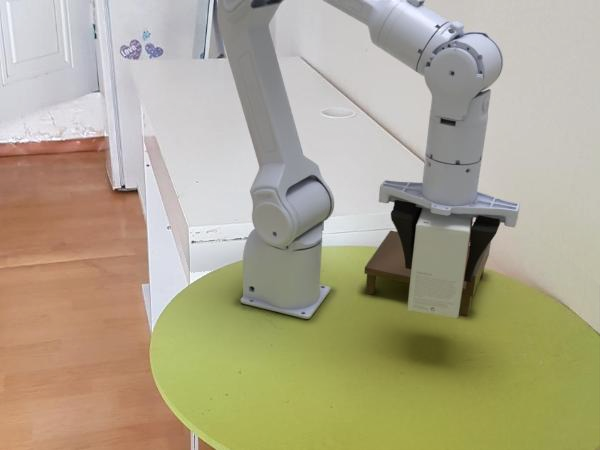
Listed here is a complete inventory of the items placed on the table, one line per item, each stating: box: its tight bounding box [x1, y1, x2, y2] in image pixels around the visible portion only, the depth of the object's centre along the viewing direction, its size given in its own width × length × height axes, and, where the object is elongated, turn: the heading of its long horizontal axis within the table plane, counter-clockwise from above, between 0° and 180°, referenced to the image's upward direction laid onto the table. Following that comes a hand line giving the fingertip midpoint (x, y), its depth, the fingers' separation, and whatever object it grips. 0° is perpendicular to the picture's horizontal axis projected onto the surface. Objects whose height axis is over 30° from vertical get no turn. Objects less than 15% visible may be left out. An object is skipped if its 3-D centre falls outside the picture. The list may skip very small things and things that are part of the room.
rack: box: [363, 230, 492, 317], centre depth 100 cm, size 14×12×6 cm
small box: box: [407, 208, 474, 319], centre depth 82 cm, size 8×6×10 cm
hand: (438, 271), depth 83 cm, fingers closed on small box, 6 cm apart
